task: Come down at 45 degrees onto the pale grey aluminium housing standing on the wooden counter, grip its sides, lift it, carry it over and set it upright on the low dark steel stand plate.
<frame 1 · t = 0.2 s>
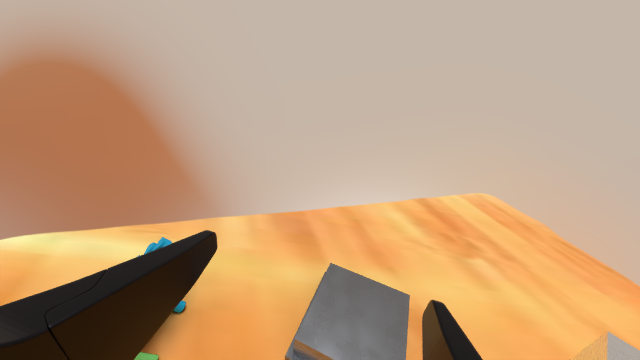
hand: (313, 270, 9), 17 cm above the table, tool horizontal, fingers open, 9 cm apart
stand: (352, 331, 24), on the table
gear: (140, 322, 22), on the table
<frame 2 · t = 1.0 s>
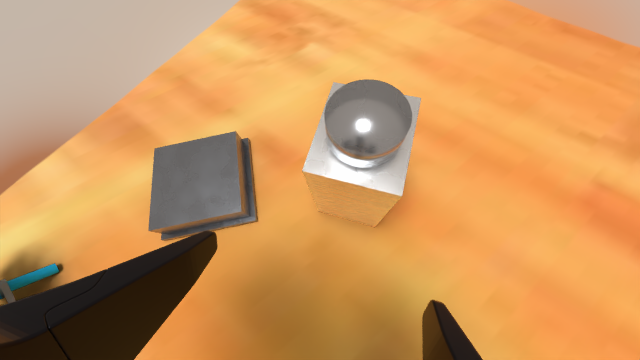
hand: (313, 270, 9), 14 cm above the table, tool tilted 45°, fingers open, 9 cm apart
stand: (210, 187, 26), on the table
housing: (354, 188, 25), on the table
gear: (34, 298, 24), on the table
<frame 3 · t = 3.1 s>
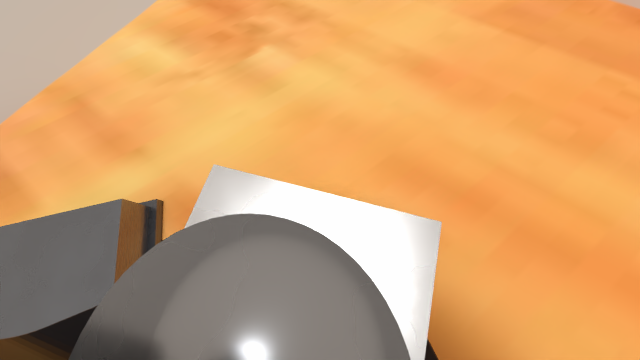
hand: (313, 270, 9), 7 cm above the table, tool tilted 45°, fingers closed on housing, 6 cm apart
stand: (92, 283, 17), on the table
housing: (318, 289, 15), on the table, touching gripper
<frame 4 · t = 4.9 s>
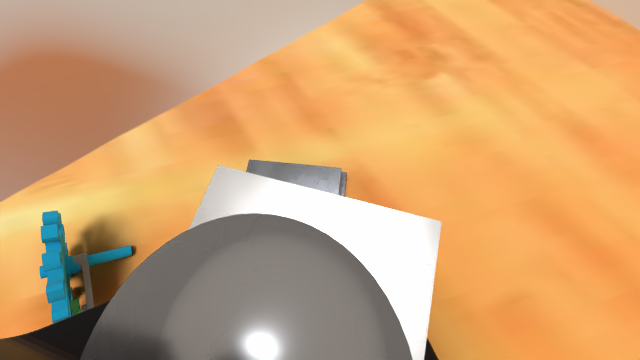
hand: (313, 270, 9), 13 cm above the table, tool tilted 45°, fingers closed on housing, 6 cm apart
stand: (292, 215, 24), on the table
housing: (319, 287, 15), point 6 cm above the table, touching gripper
gear: (104, 271, 24), on the table
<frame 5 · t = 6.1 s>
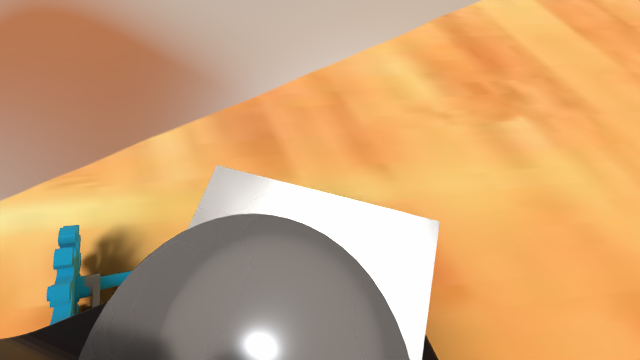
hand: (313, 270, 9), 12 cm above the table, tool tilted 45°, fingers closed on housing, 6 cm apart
housing: (319, 287, 15), point 5 cm above the table, touching gripper
gear: (115, 291, 22), on the table
when the fingers open (11 cm above the table, at t = 6.9 s): housing drops 1 cm, resting on stand.
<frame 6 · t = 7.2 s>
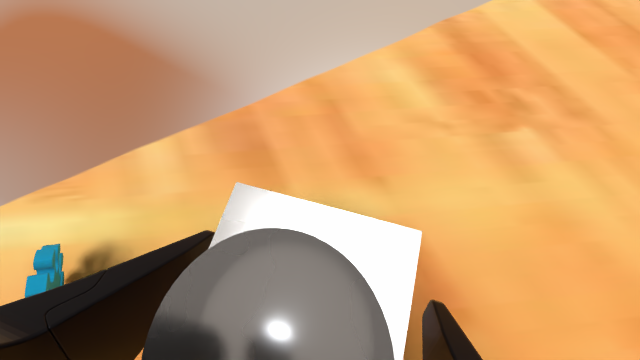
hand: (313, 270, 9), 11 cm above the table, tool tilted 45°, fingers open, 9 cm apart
housing: (320, 287, 17), point 3 cm above the table, touching stand
gear: (99, 311, 20), on the table
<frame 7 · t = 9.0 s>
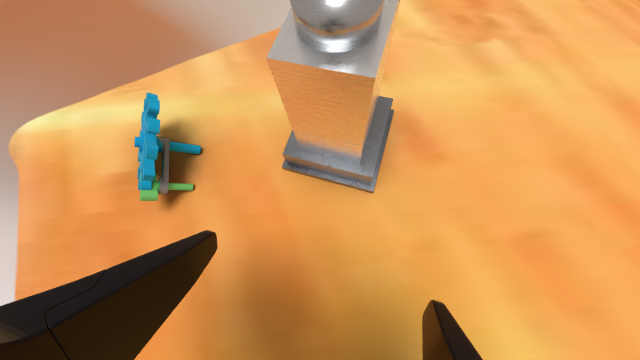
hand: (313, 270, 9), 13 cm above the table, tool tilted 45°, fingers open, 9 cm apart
stand: (339, 140, 26), on the table
housing: (339, 126, 24), point 3 cm above the table, touching stand
gear: (174, 163, 28), on the table
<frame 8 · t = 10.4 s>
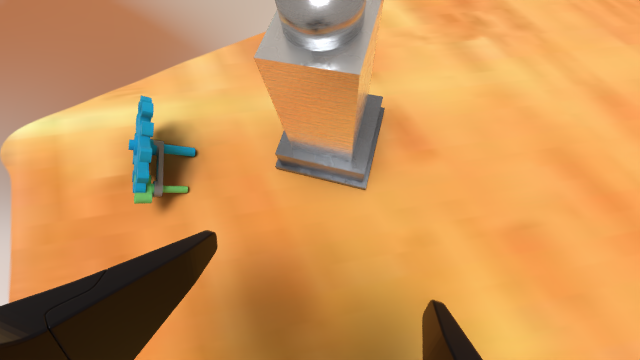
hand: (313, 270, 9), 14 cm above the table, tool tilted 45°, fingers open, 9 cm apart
stand: (331, 139, 27), on the table
housing: (330, 124, 24), point 3 cm above the table, touching stand
gear: (169, 165, 28), on the table
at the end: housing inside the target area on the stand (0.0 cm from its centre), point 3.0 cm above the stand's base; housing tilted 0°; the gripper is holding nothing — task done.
